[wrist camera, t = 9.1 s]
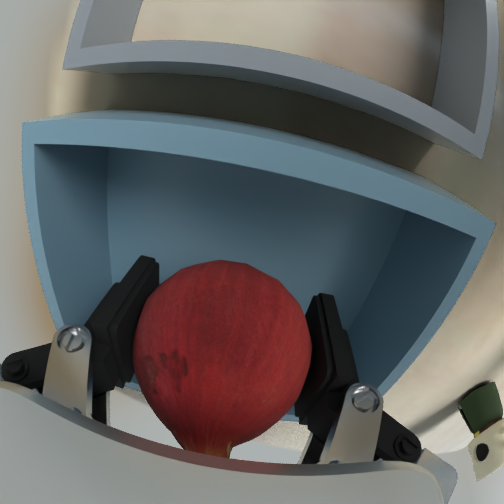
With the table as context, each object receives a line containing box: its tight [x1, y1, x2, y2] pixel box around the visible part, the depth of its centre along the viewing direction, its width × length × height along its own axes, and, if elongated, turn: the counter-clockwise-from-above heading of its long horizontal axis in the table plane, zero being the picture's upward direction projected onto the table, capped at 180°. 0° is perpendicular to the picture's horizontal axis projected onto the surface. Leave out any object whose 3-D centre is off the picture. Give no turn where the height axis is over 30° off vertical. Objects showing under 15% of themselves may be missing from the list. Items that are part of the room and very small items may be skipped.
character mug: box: [458, 382, 504, 481], centre depth 17 cm, size 11×7×13 cm, turn 22°
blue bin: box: [22, 110, 496, 422], centre depth 12 cm, size 13×17×6 cm
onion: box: [132, 260, 312, 458], centre depth 8 cm, size 6×6×8 cm
